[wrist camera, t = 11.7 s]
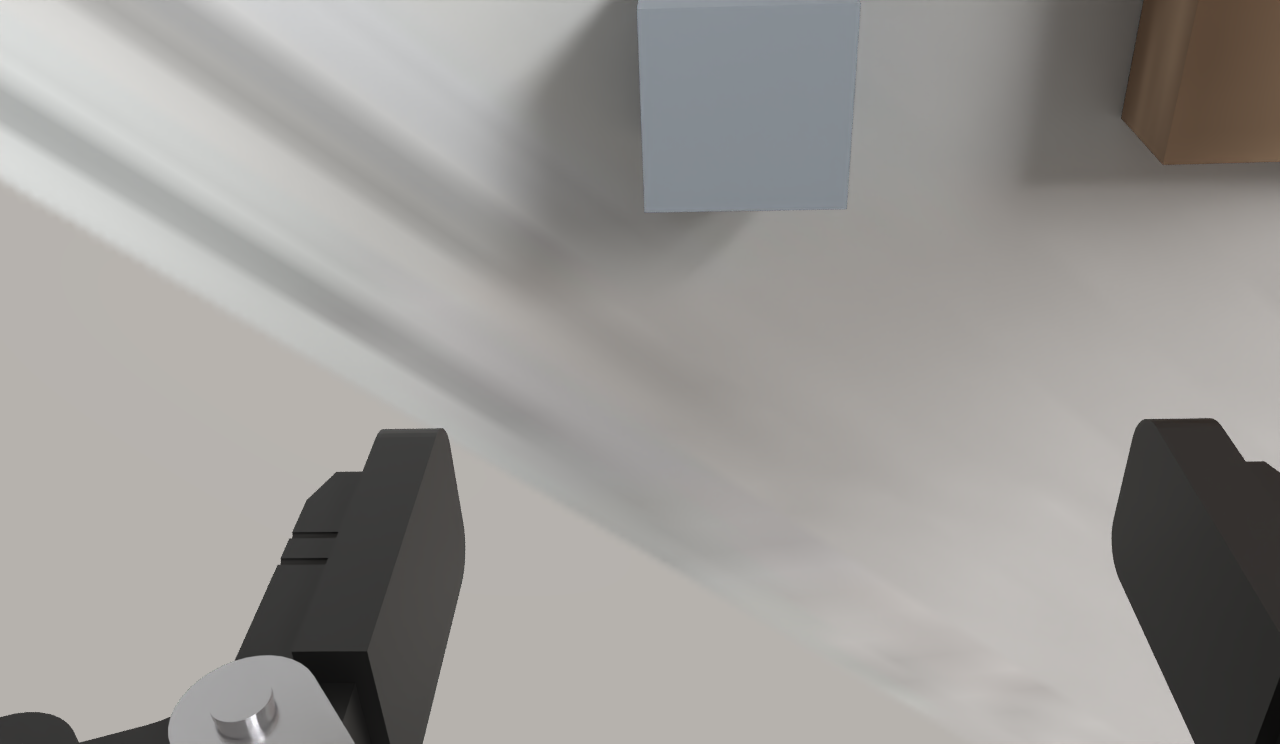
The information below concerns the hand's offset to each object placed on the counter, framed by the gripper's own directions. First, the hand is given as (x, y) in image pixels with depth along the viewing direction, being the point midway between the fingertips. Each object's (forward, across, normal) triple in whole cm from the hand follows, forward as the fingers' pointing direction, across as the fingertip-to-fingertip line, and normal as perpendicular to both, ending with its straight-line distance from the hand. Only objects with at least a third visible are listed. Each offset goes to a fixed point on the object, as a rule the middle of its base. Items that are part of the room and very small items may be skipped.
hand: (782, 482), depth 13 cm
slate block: (+17, 0, 0) cm, 17 cm away
